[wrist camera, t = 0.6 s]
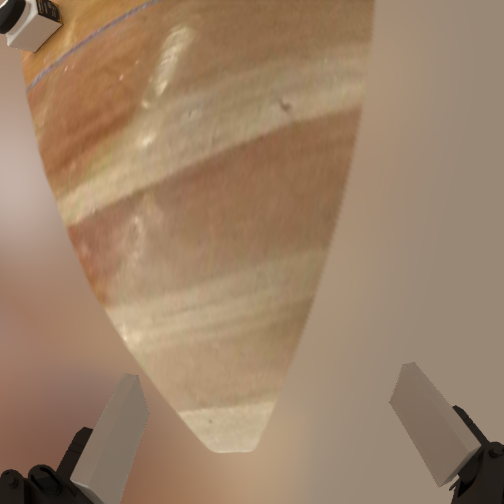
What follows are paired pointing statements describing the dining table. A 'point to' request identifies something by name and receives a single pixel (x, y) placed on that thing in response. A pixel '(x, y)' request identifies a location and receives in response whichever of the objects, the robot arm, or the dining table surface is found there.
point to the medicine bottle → (28, 22)
